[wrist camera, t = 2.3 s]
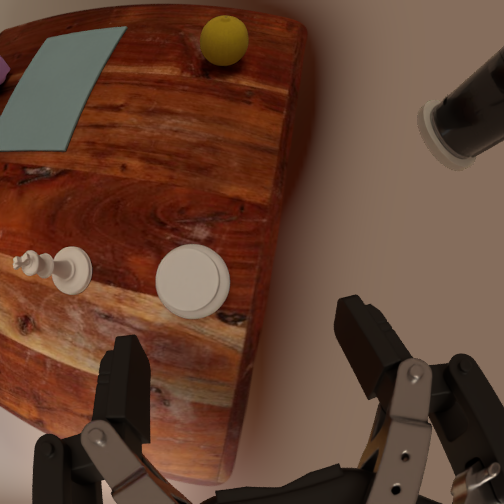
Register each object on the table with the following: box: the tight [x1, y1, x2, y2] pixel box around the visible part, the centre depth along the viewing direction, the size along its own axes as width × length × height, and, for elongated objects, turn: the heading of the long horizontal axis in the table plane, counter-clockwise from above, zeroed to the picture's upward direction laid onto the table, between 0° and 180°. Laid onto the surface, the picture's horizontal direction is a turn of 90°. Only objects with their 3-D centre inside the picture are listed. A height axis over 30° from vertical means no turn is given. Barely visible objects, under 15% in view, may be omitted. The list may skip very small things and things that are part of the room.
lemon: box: [200, 16, 248, 66], centre depth 27 cm, size 6×6×8 cm
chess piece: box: [13, 247, 92, 295], centre depth 21 cm, size 5×5×10 cm
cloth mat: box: [0, 27, 127, 152], centre depth 28 cm, size 16×22×1 cm
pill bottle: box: [156, 244, 230, 319], centre depth 23 cm, size 6×5×10 cm
